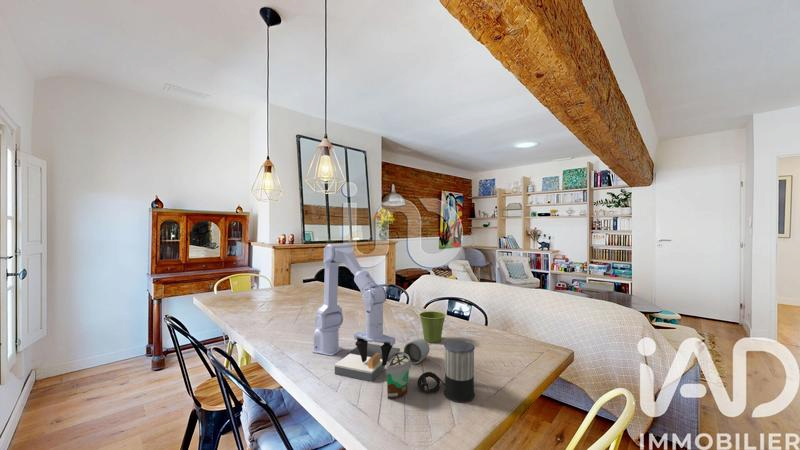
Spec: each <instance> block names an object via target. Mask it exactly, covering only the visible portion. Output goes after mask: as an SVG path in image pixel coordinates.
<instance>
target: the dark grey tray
mask: <svg viewBox="0 0 800 450" xmlns="http://www.w3.org/2000/svg"><path fill="white" fill-rule="evenodd" d="M385 366H386V365H385ZM385 366H383V365H382V364H381V365H380V366H379V367H378V368H377V369H376V370H375V371H374V372H373V373H372V374H371V373H365V372H360V371H355V370H350V369H345V368H340V367H335V366H334V375H337V376H341V377H346V378H350V379H351V378H352V379H357V380H362V381H366V382H373V381H374V380H375V379H376V378H377V377H379V375H380V374H381V373H382V372H383V371H384V370H385V369H386V368H385Z"/></svg>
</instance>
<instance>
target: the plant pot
mask: <svg viewBox="0 0 800 450" xmlns="http://www.w3.org/2000/svg"><path fill="white" fill-rule="evenodd" d="M418 316H419V318H420V322H421V326H422V328H421V329H422V333H423V339H424V340H425V341H427V343H439V342H441V340H442V335H443V327H444V322H445V318H446V317H447V314H446V313H444V312H440V311H433V310H432V311H431V310H429V311H422V312H419V314H418Z"/></svg>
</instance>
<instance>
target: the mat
mask: <svg viewBox="0 0 800 450" xmlns="http://www.w3.org/2000/svg"><path fill="white" fill-rule="evenodd" d="M381 346H382V345H380V344H374V343H370V342H368V345H367V357H372V356H373V355H374V354H376V353H380V359H382V350H381ZM399 350H401V349H400V347H399V348H398V347H393V346H392V348H391V350H390V353H389V356H388V360H387V362H388V361H390V360H391V358H393V357H394V356H395V351H399ZM349 354H355V355H360V352H359V350H358V348H357V346H356V347H354V348H353V349H351V350H350V351H349V352H348V353H347V355H349Z"/></svg>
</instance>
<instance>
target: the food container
mask: <svg viewBox="0 0 800 450" xmlns="http://www.w3.org/2000/svg"><path fill="white" fill-rule="evenodd" d="M390 360H391V361H390V363H389V365H386V380H387V381H386V385H387V387H386V388H387V389H386V390H387V391H386V392H387V400H389V399H390V400H394V399H396V398H397V399H401V398H403V397H404V396H406V395H407V394H408V388H409V375H410V374H409V373H410V369H411V368H412V364H411V360H410V358H409V356H408V355H407V354H406V353H404V351H399V350H398V351H395V354H394V355H393V357H392V359H390ZM400 397H401V398H400ZM397 399H396V400H397Z"/></svg>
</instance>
